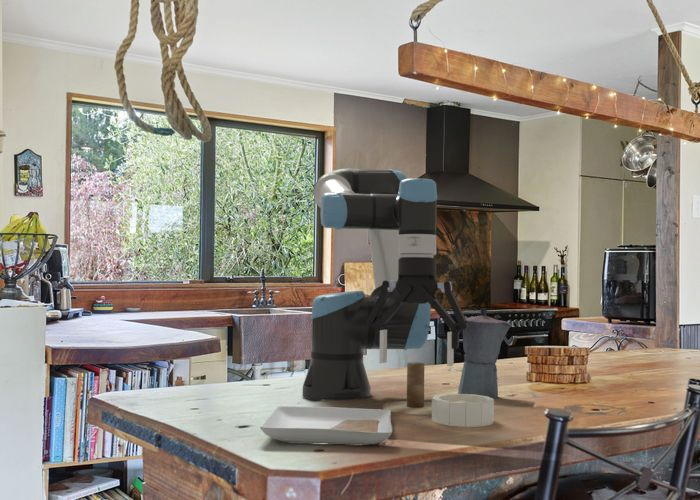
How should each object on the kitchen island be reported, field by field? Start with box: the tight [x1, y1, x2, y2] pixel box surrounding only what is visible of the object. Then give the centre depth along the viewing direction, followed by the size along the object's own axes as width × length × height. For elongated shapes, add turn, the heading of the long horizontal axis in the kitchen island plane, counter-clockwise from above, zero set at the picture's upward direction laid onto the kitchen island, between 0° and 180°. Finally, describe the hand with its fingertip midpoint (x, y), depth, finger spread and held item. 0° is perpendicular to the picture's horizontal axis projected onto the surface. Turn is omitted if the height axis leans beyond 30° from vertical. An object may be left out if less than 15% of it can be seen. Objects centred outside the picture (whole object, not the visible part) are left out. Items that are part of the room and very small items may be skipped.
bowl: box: [431, 393, 495, 428], centre depth 143 cm, size 11×11×5 cm
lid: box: [382, 361, 432, 416], centre depth 155 cm, size 13×13×9 cm
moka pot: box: [443, 307, 513, 400], centre depth 177 cm, size 10×15×20 cm, turn 78°
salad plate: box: [259, 405, 393, 446], centre depth 134 cm, size 21×21×3 cm
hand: (416, 364), depth 155 cm, fingers open, 13 cm apart
